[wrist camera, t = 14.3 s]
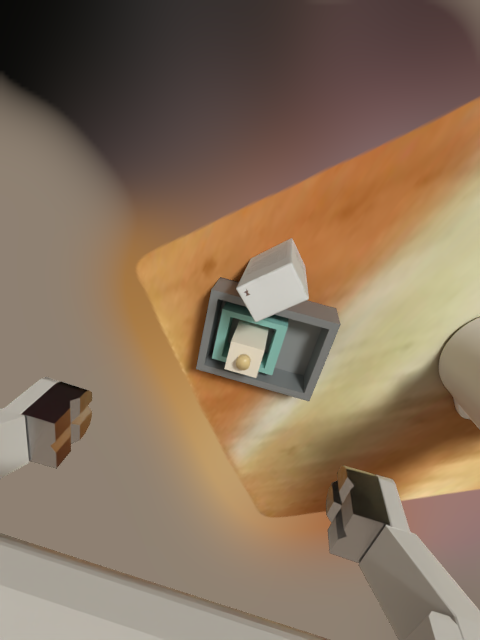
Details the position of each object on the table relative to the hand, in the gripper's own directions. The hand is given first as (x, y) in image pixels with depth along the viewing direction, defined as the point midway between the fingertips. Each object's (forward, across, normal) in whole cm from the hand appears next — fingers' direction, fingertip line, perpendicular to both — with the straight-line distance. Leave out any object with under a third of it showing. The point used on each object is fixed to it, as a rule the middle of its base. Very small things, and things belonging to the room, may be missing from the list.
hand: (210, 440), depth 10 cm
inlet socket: (+34, 0, +13) cm, 36 cm away
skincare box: (+34, -1, +3) cm, 34 cm away
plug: (+33, 0, +13) cm, 36 cm away
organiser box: (+34, -2, +13) cm, 37 cm away
